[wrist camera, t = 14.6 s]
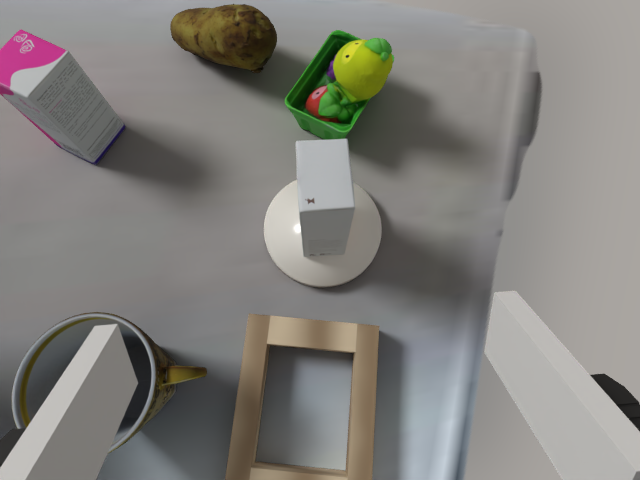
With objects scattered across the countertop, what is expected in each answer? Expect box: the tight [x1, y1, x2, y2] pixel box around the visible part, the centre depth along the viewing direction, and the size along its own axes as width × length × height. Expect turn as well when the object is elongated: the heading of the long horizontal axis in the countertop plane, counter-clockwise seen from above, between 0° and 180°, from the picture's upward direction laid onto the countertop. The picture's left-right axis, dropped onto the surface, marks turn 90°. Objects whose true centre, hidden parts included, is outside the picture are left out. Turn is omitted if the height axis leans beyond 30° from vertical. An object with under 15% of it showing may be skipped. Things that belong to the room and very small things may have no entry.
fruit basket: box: [285, 30, 394, 140], centre depth 42 cm, size 11×9×11 cm
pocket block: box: [225, 314, 379, 480], centre depth 36 cm, size 12×15×2 cm
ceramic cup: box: [12, 312, 207, 453], centre depth 33 cm, size 13×10×10 cm
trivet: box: [264, 180, 382, 288], centre depth 42 cm, size 12×12×1 cm
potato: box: [171, 4, 277, 73], centre depth 46 cm, size 8×13×8 cm, turn 44°
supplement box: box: [0, 30, 125, 165], centre depth 41 cm, size 6×6×12 cm
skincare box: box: [295, 139, 355, 257], centre depth 36 cm, size 6×4×12 cm
